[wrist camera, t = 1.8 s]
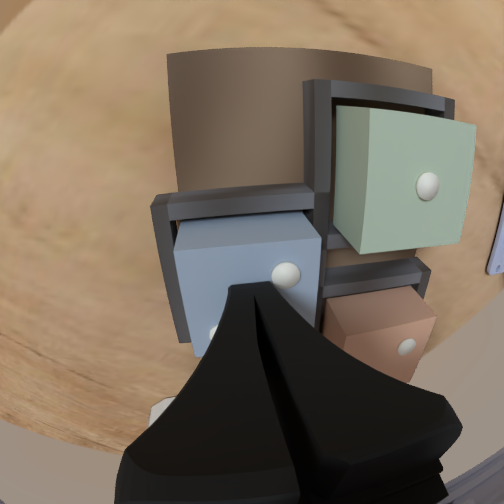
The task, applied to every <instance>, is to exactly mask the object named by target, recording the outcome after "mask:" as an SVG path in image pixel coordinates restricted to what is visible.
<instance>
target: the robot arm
mask: <svg viewBox="0 0 504 504" xmlns="http://www.w3.org/2000/svg"><path fill="white" fill-rule="evenodd" d="M503 272H504V204H503V209H502V214H501V218H500V223H499V227H498V231H497V235H496V239H495V242H494V246H493V250H492V253H491V257H490V260H489V263H488V267H487V273H488V274H490V275H495V274H499V273H503ZM462 428H463V427H462V424H461V422H460V420H459V419H458V417H457V416H456V413H455V412H454V410H453V408H452V407H451V405H450V404H449V403H448V401H447V400H446V398H445V397H444V396H442V395H440V394H436V393H433V392H430V391H427V390H424V389H421V388H418V387H415V386H412V385H409V384H407V383H404V382H402V381H400V380H397V379H395V378H393V377H391V376H388V375H386V374H384V373H382V372H380V371H378V370H376V369H374V368H372V367H370V366H369V365H367V364H365V363H363V362H361V361H360V360H358V359H356V358H354V357H353V356H351V355H350V354H348V353H346V352H345V351H344V350H342V349H341V348H339V347H338V346H336V345H335V344H334V343H332V342H331V341H330V340H328V339H327V338H326V337H325V336H323V335H322V334H321V333H320V332H319V331H317V330H316V329H315V328H314V327H313V326H312V325H311V324H309V323H308V322H307V321H306V320H305V319H304V318H303V317H302V316H301V315H300V314H299V313H298V312H297V311H296V310H295V309H294V308H293V307H292V306H291V305H290V304H289V303H288V302H287V301H286V299H285V298H284V297H283V296H282V295H281V294H280V293H279V291H278V290H277V289H276V288H275V287H274V285H273V284H272V283H271V282H270V281H264V282H255V283H245V284H235V285H231V286H230V287H229V288H228V294H227V300H226V304H225V307H224V310H223V313H222V316H221V319H220V321H219V324H218V327H217V329H216V331H215V333H214V336H213V338H212V340H211V342H210V344H209V346H208V348H207V350H206V352H205V354H204V356H203V358H202V359H201V361H200V363H199V364H198V366H197V368H196V369H195V371H194V372H193V374H192V375H191V377H190V378H189V380H188V381H187V383H186V384H185V386H184V387H183V388H182V390H181V391H180V392H179V394H178V395H177V396H176V397H175V399H174V400H173V401H172V402H171V403H170V404H169V406H168V407H167V408H166V409H165V410H164V411H163V413H162V414H161V415H160V416H159V417H158V418H157V419H156V420H155V422H154V423H153V424H152V425H151V426H150V427H149V428H147V429H146V430H145V431H144V432H143V433H142V434H141V435H140V436H139V437H138V438H137V439H136V440H135V441H134V442H133V443H131V444H130V445H129V446H128V447H127V448H126V449H125V451H124V454H123V456H122V460H121V463H120V467H119V470H118V474H117V479H116V487H115V500H114V504H504V448H502V449H500V450H499V451H498V452H496V453H495V454H493V455H492V456H490V457H489V458H487V459H486V460H484V461H483V462H481V463H480V464H478V465H477V466H475V467H473V468H472V469H470V470H468V471H467V472H465V473H464V474H462V475H460V476H458V477H456V478H455V479H453V480H451V481H449V482H448V483H446V484H444V483H443V481H442V479H441V477H440V474H439V473H441V472H442V471H443V466H442V464H441V462H440V460H439V458H440V457H441V456H442V455H443V454H444V453H445V452H446V451H447V450H448V449H449V448H450V447H451V446H452V445H453V444H454V442H455V441H456V440H457V439H458V437H459V436H460V434H461V431H462ZM0 504H5V503H4V502H3V501H1V500H0Z"/></svg>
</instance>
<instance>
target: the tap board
mask: <svg viewBox="0 0 504 504" xmlns="http://www.w3.org/2000/svg"><path fill="white" fill-rule="evenodd" d="M167 69H168V86H169V101H170V114H171V126H172V137H173V148H174V157H175V167H176V176H177V184H178V192H176V193H167V194H159V195H157V196H156V197H155V199H154V201H153V202H152V204H151V206H150V208H151V214H152V220H153V226H154V231H155V237H156V242H157V247H158V253H159V258H160V263H161V267H162V272H163V277H164V282H165V286H166V291H167V295H168V299H169V304H170V308H171V312H172V316H173V320H174V324H175V328H176V332H177V336H178V340H179V343H190V342H192V341H191V337H190V332H189V328H188V323H187V319H186V314H185V309H184V305H183V300H182V295H181V290H180V285H179V279H178V274H177V269H176V263H175V258H174V252H173V251H174V246H175V242H176V238H177V234H178V232H177V225H176V220H181V219H182V220H192V219H202V218H213V217H224V216H235V215H247V214H260V213H273V212H286V211H301V212H302V213H303V214H304V215H305V217H306V218H307V219H308V221H309V222H310V223H311V225H312V226H313V227H314V229H315V230H316V231H317V232H318V234H319V235H320V236H321V254H320V268H319V281H318V292H317V303H316V314H315V324H314V328H315V329H316V330H317V331H319V332H320V333H321V334H322V330H323V323H324V315H325V306H326V299H328V298H335V297H342V296H349V295H356V294H362V293H369V292H375V291H381V290H387V289H393V288H399V287H405V286H411V287H412V288H413V289H414V290H415V291H416V292H417V293H418V294H419V296H420V297H421V298H422V299H424V296H425V292H426V289H427V285H428V281H429V278H430V274H431V270H430V269H429V268H428V267H427V266H426V265H425V264H424V263H423V262H422V261H421V260H420V259H419V258H417V257H415V253H416V248H413V249H404V250H395V251H386V252H377V253H368V254H359V253H358V252H357V251H356V250H355V248H354V247H353V246H352V245H351V244H350V243H349V242H348V240H347V239H346V238H345V237H344V236H343V235H342V234H341V233H340V232H339V230H338V229H337V228H336V227H335V226H334V225H333V216H334V198H335V174H336V106H352V107H365V108H376V109H385V110H394V111H401V112H409V113H416V114H422V115H428V116H434V117H440V118H445V119H450V120H454V109H455V100H454V99H450V98H445V97H441V96H437V95H432V69H430V68H426V67H422V66H418V65H414V64H410V63H405V62H401V61H396V60H391V59H386V58H380V57H374V56H368V55H362V54H355V53H347V52H339V51H330V50H319V49H305V48H282V47H246V48H223V49H209V50H197V51H188V52H180V53H172V54H167Z"/></svg>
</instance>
